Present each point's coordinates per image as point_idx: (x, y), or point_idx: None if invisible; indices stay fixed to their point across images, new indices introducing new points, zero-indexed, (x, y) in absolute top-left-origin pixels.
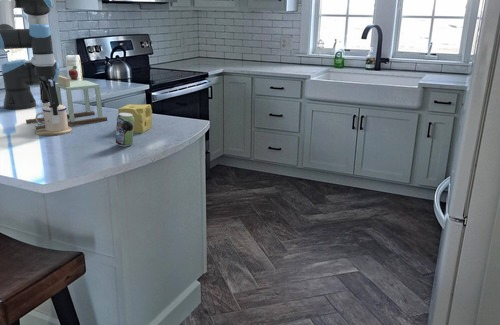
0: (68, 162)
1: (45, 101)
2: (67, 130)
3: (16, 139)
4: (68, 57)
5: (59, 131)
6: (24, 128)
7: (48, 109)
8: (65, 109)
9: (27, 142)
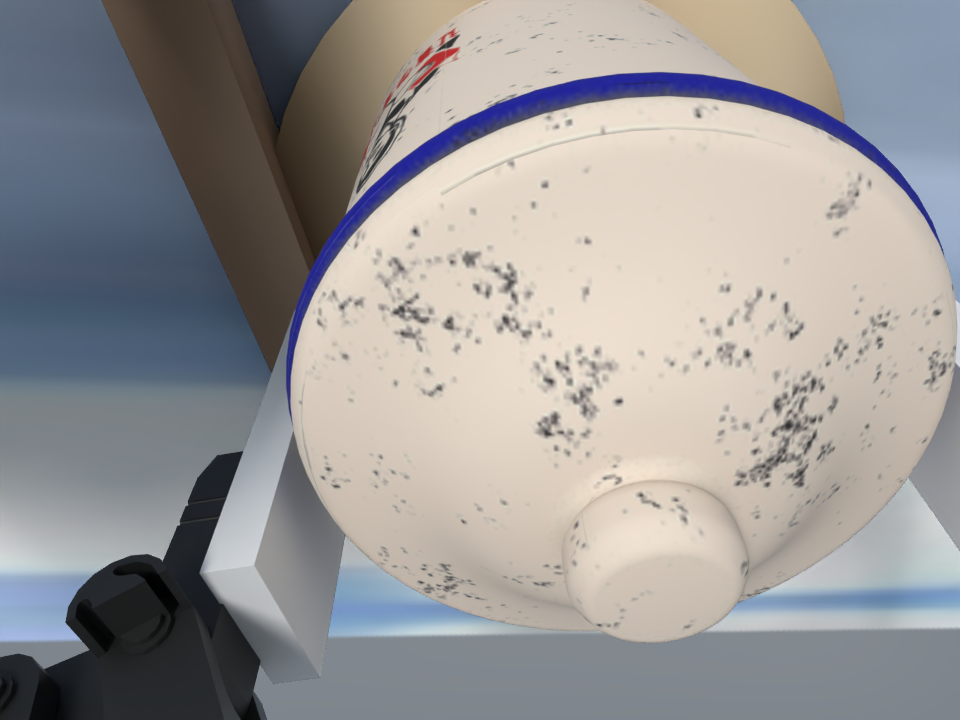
0: None
1: (236, 684)
2: (754, 18)
3: None
4: None
5: None
6: (183, 508)
7: (821, 555)
8: (848, 128)
9: (908, 496)
